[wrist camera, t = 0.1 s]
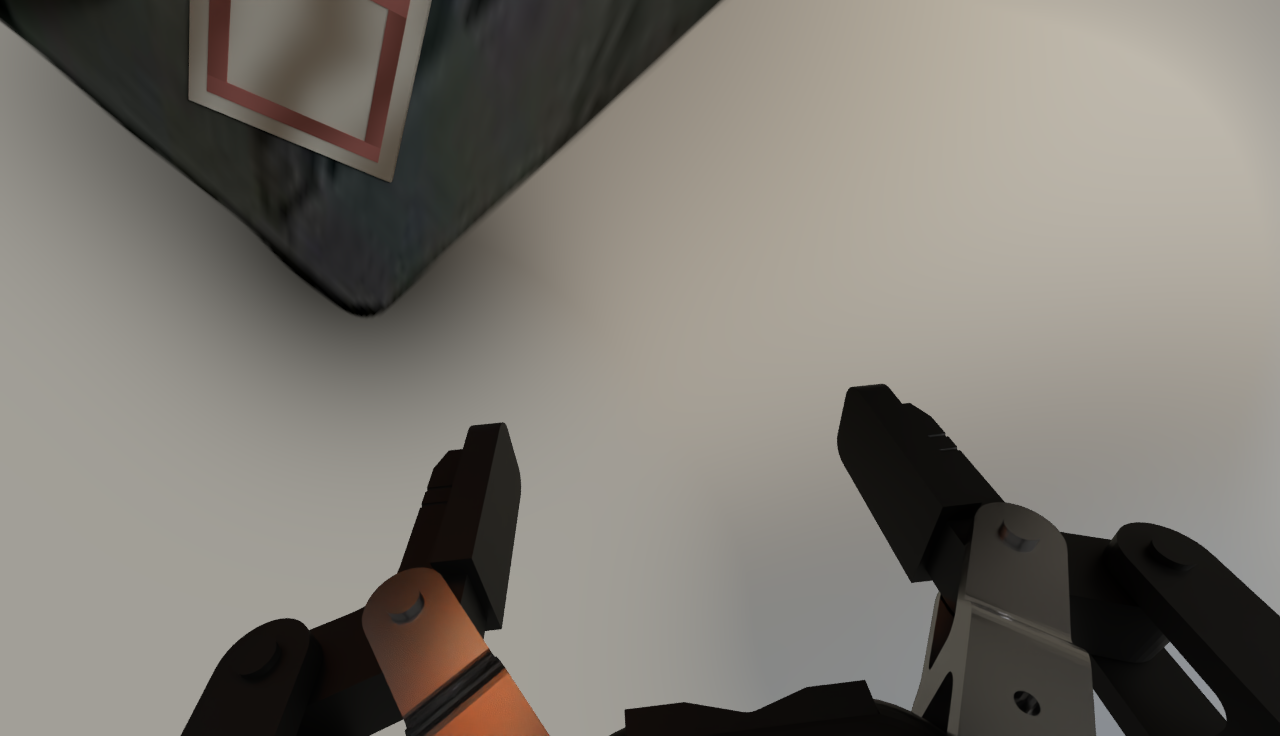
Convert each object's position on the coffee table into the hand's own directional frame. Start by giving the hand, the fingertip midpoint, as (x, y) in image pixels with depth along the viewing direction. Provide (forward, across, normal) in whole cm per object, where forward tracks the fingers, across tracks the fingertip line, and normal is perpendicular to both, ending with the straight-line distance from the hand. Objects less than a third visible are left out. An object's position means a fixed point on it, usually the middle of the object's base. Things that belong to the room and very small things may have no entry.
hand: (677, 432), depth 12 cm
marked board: (+29, +18, -8) cm, 35 cm away
